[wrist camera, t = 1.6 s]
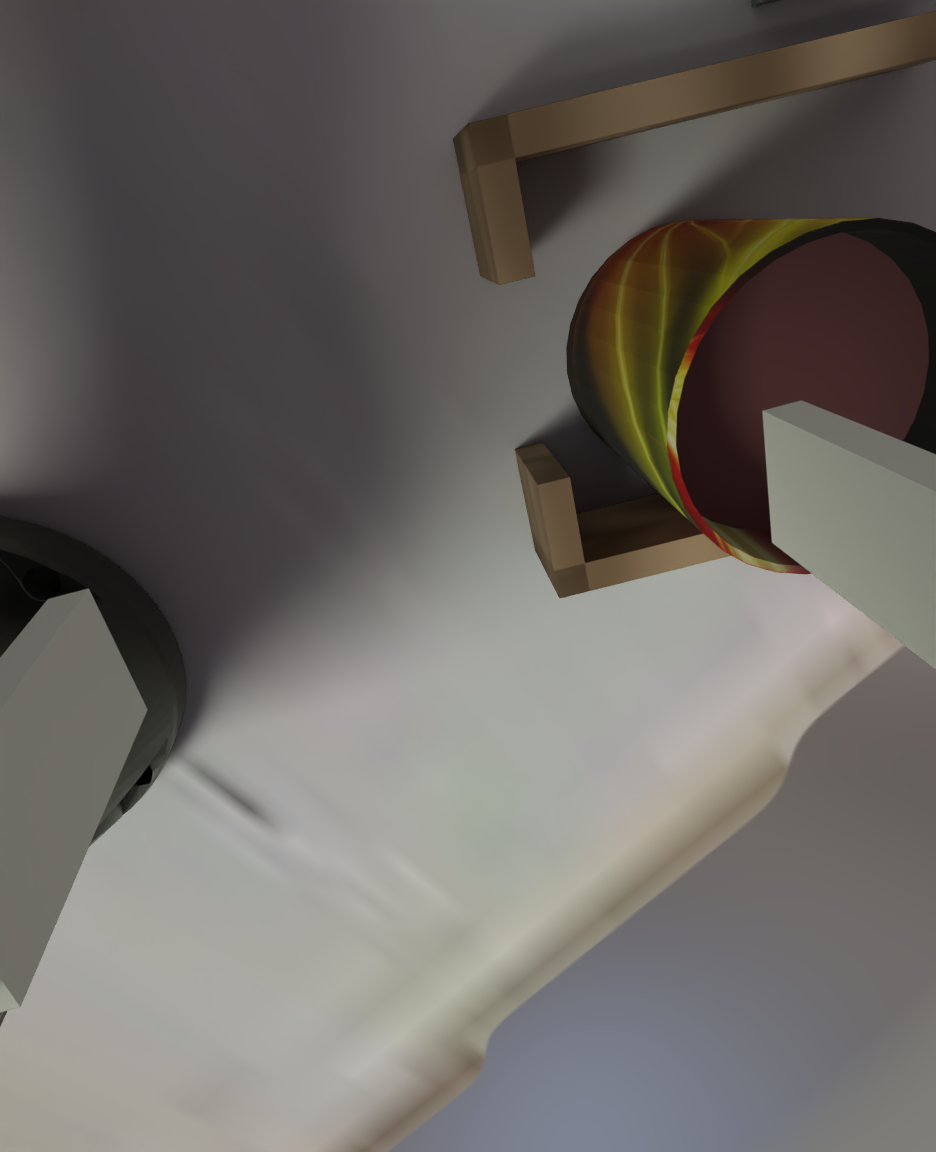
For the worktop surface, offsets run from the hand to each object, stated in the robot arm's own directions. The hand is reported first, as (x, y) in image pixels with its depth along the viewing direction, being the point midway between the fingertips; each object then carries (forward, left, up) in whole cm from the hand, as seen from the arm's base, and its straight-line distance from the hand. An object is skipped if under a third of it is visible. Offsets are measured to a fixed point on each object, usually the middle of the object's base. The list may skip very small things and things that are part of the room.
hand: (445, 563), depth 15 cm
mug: (+13, 0, -19) cm, 23 cm away
